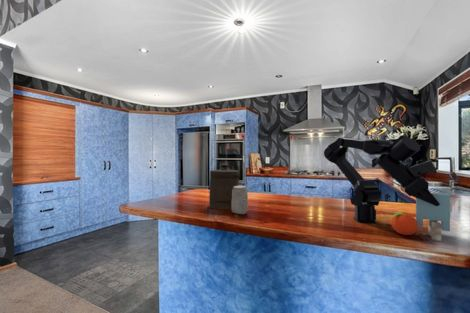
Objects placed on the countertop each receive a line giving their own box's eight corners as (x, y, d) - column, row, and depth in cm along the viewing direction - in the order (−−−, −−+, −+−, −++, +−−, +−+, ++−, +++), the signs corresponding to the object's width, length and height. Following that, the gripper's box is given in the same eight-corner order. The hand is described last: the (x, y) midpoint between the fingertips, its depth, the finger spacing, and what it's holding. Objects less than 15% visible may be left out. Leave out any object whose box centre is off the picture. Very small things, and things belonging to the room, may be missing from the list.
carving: (250, 214, 100) (250, 186, 100) (236, 216, 95) (236, 187, 96) (242, 211, 105) (242, 185, 105) (228, 213, 101) (228, 186, 101)
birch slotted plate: (432, 240, 69) (432, 223, 69) (428, 231, 77) (428, 216, 77) (441, 241, 68) (441, 224, 68) (436, 232, 76) (436, 217, 76)
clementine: (397, 238, 70) (397, 215, 70) (383, 231, 77) (383, 210, 77) (423, 238, 70) (423, 215, 70) (406, 231, 77) (406, 210, 77)
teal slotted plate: (416, 226, 74) (416, 192, 74) (415, 224, 76) (416, 191, 76) (449, 231, 69) (450, 195, 69) (448, 229, 71) (448, 194, 71)
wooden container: (244, 205, 117) (244, 162, 117) (227, 211, 104) (228, 163, 105) (220, 202, 125) (221, 162, 125) (203, 207, 112) (203, 162, 113)
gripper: (419, 151, 67) (471, 191, 61) (414, 152, 82) (456, 185, 76) (386, 176, 72) (432, 216, 65) (388, 172, 87) (425, 205, 81)
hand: (438, 204), depth 72 cm, fingers closed on teal slotted plate, 2 cm apart
